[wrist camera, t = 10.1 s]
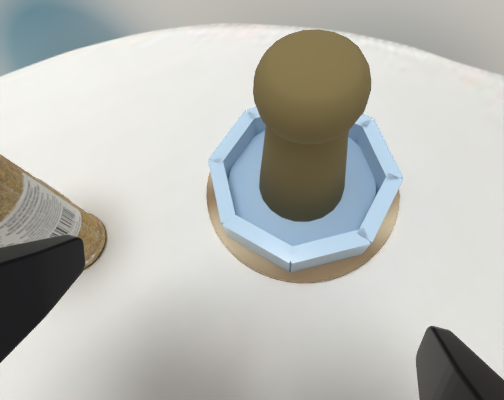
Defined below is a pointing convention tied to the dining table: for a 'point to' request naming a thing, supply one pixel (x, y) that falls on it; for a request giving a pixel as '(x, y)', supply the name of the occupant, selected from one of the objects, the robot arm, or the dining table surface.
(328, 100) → the cork
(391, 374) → the dining table surface
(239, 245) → the placemat
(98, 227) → the sprinkles bottle
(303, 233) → the bowl
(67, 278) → the robot arm
